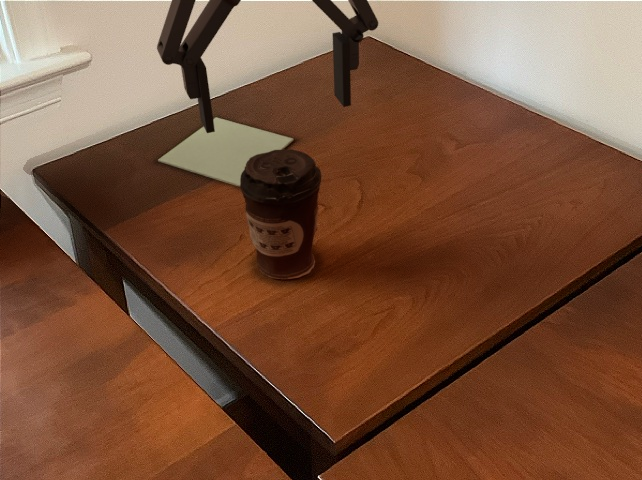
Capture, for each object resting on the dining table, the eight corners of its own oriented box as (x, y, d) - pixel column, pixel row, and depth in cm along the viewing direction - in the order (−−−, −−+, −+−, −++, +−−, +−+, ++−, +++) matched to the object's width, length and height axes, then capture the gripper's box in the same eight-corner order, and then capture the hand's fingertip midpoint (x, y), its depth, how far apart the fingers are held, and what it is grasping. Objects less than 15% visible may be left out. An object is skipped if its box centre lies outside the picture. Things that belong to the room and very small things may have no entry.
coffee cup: (306, 296, 87) (300, 194, 79) (235, 280, 89) (222, 179, 81) (334, 248, 93) (331, 149, 85) (267, 235, 95) (258, 137, 87)
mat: (158, 161, 108) (157, 159, 108) (216, 119, 117) (215, 117, 117) (239, 186, 103) (239, 185, 103) (293, 140, 112) (293, 138, 112)
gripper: (106, -93, 60) (154, 156, 73) (417, -128, 67) (410, 106, 80) (94, -118, 66) (141, 119, 79) (382, -148, 72) (381, 75, 85)
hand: (276, 113), depth 79 cm, fingers open, 13 cm apart
